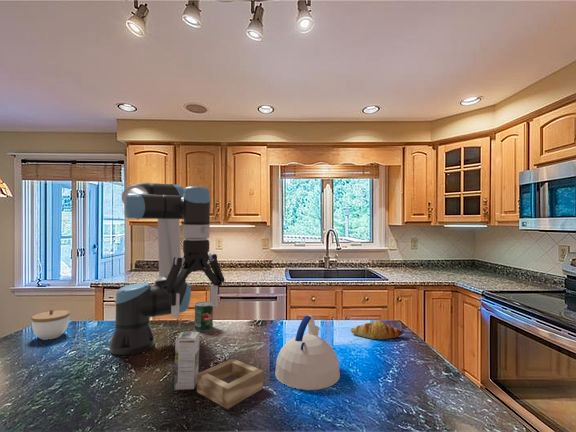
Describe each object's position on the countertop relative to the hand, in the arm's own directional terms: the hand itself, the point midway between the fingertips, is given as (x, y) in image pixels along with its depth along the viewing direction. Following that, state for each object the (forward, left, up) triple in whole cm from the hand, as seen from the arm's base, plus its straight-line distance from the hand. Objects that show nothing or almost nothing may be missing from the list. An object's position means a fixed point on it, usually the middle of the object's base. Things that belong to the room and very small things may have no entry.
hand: (195, 311), depth 94 cm
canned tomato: (-38, +31, -21) cm, 53 cm away
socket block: (+11, +4, -21) cm, 24 cm away
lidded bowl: (-78, -15, -21) cm, 82 cm away
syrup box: (-1, -2, -21) cm, 21 cm away
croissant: (+25, +71, -21) cm, 79 cm away
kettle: (+22, +26, -21) cm, 40 cm away
